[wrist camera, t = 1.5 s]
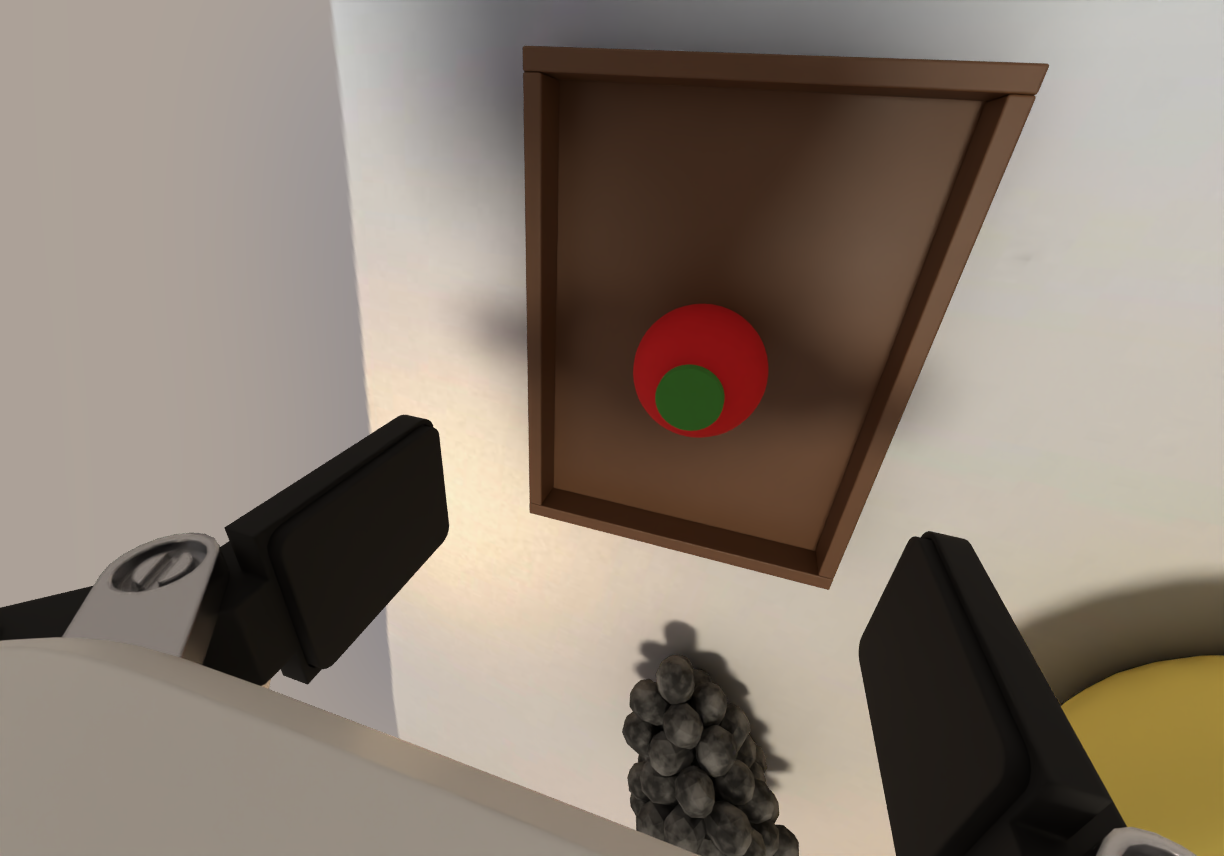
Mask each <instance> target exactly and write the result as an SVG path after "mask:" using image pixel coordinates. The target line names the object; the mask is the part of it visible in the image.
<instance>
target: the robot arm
mask: <svg viewBox="0 0 1224 856" xmlns="http://www.w3.org/2000/svg"><path fill="white" fill-rule="evenodd" d="M448 530H449V520H448V511H447V502H446V493H445V484H444V475H443V466H442V457H441V447H440V438H439V433H438V431H437V429H435V428H434V427H433V424H432V423H431V421H429V420H427V419H423V418H418V417H414V416H409V415H400V416H398V417H397V418H395V419H393V420H392V421H390V422H389V423H387V424H386V425H384V426H383V427H381V428H379V429H378V430H376V431H375V432H373V433H372V434H370V435H368V436H367V437H365V438H364V439H362V440H361V441H359V442H358V443H356V444H354V445H353V446H351V447H350V448H348V449H347V450H345V451H343V452H342V453H341V454H339V455H337V456H336V457H334V458H333V459H331V460H329V461H328V462H326V463H325V464H323V465H322V466H320V467H318V468H317V469H315V470H314V471H312V472H311V473H309V474H308V475H306V476H304V477H303V478H301V479H300V480H298V481H297V482H295V483H293V484H292V485H290V486H289V487H287V488H286V489H284V490H283V491H281V492H279V493H278V494H276V495H275V496H273V497H272V498H270V499H268V500H267V501H265V502H264V503H262V504H261V505H259V506H257V507H256V508H254V509H253V510H251V511H250V512H248V513H247V514H245V515H244V516H242V517H240V518H239V519H237V520H236V521H234V522H233V523H231V524H229V525H228V526H226V527H225V531H226V533H227V535H228V538H229V542H227V543H226V544H224V545H223V546H221V547H220V546H219V544H218V543H217V541H216V540H215V538H213V537H211V536H208V535H206V534H200V533H183V534H174V535H170V536H167V537H163V538H158V539H155V540H153V541H150V542H148V543H145V544H142V545H140V546H138V547H136V548H134V549H132V550H130V551H128V552H127V553H125V554H123V555H122V556H120V557H119V558H118V559H116V560H115V561H114V562H112V563H111V564H110V565H109V566H108V567H107V568H106V569H105V570H104V571H103V572H102V574H101V575H100V576H99V578H98V579H97V581H96V583H95V584H94V586H91V587H86V588H82V589H78V590H74V591H69V592H65V593H61V594H57V595H52V596H48V597H44V598H40V599H35V600H31V601H27V602H23V603H19V604H14V605H10V606H6V607H2V608H0V856H700V855H697V854H695V853H692V852H689V851H687V850H684V849H682V848H679V847H677V846H674V845H672V844H669V843H667V842H664V841H661V840H659V839H656V838H654V837H651V836H649V835H646V834H644V833H641V832H639V831H636V830H633V829H631V828H628V827H626V826H623V825H621V824H618V823H616V822H613V821H611V820H608V819H605V818H603V817H600V816H598V815H595V814H593V813H590V812H587V811H585V810H582V809H580V808H577V807H575V806H572V805H569V804H567V803H564V802H562V801H559V800H556V799H554V798H551V797H549V796H546V795H544V794H541V793H538V792H536V791H533V790H531V789H528V788H526V787H523V786H520V785H518V784H515V783H513V782H510V781H507V780H505V779H502V778H500V777H497V776H495V775H492V774H489V773H487V772H484V771H482V770H479V769H476V768H474V767H471V766H469V765H466V764H463V763H461V762H458V761H456V760H453V759H451V758H448V757H445V756H443V755H440V754H438V753H435V752H432V751H430V750H427V749H425V748H422V747H419V746H417V745H414V744H412V743H409V742H406V741H404V740H401V739H399V738H396V737H393V736H391V735H388V734H385V733H383V732H380V731H377V730H375V729H372V728H370V727H367V726H364V725H362V724H359V723H356V722H354V721H351V720H348V719H346V718H343V717H341V716H338V715H336V714H333V713H330V712H328V711H325V710H322V709H320V708H317V707H314V706H312V705H309V704H307V703H304V702H301V701H299V700H296V699H293V698H291V697H288V696H286V695H283V694H280V693H278V692H275V691H272V690H270V689H269V686H270V681H271V678H272V677H273V676H274V675H275V674H276V673H277V672H278V671H279V670H280V669H281V671H282V673H283V675H284V676H286V677H289V678H292V679H294V680H297V681H300V682H302V683H305V684H309V683H310V682H311V680H312V679H313V678H314V677H315V676H316V675H317V674H318V673H319V672H320V671H321V669H326V668H328V667H330V666H332V665H333V664H334V663H335V662H336V661H337V660H338V659H339V658H340V656H341V655H342V654H343V653H344V652H345V651H346V650H347V649H348V647H349V646H350V645H351V644H352V643H353V642H354V641H355V640H356V639H357V637H358V636H359V635H360V634H361V633H362V632H363V631H364V629H366V627H367V626H368V625H369V624H370V623H371V622H372V621H373V620H374V619H375V617H376V616H377V615H378V614H379V613H380V612H381V611H382V610H383V609H384V607H385V606H386V605H387V604H388V603H389V602H390V601H391V600H392V599H393V597H394V596H395V595H396V594H397V593H398V592H399V591H400V590H401V588H402V587H403V586H404V585H405V584H406V583H407V582H408V581H409V580H410V578H411V577H412V576H413V575H414V574H415V573H416V572H417V571H418V570H419V568H420V567H421V566H422V565H423V564H424V563H425V562H426V561H427V560H428V558H429V557H430V556H431V555H432V554H433V553H434V552H435V551H436V549H437V548H438V547H439V546H440V545H441V544H442V543H443V541H444V540H445V538H446V536H447V534H448ZM859 661H860V667H861V672H862V677H863V683H864V688H865V693H866V698H867V704H868V709H869V714H870V720H871V725H872V730H873V736H874V741H875V746H876V751H877V757H878V762H879V767H880V773H881V778H882V783H883V789H884V794H885V799H886V804H887V810H888V815H889V820H890V826H891V831H892V836H893V842H894V847H895V852H896V856H1197V855H1195V854H1194V853H1192V852H1191V851H1189V850H1188V849H1186V848H1185V847H1183V846H1182V845H1180V844H1178V843H1176V842H1174V841H1172V840H1169V839H1167V838H1165V837H1163V836H1161V835H1159V834H1157V833H1155V832H1151V831H1147V830H1143V829H1139V828H1135V827H1127V825H1126V824H1125V822H1124V820H1123V818H1122V816H1121V815H1120V813H1119V811H1118V809H1117V807H1116V806H1115V804H1114V802H1113V800H1112V798H1111V796H1110V795H1109V793H1108V791H1107V789H1106V787H1105V785H1104V784H1103V782H1102V780H1101V778H1100V776H1099V775H1098V773H1097V771H1096V769H1095V767H1094V766H1093V764H1092V762H1091V760H1090V758H1089V757H1088V755H1087V753H1086V751H1085V749H1084V748H1083V746H1082V744H1081V742H1080V740H1079V739H1078V737H1077V735H1076V733H1075V731H1074V730H1073V728H1072V726H1071V724H1070V722H1069V721H1068V719H1067V717H1066V715H1065V713H1064V712H1063V710H1062V708H1061V706H1060V704H1059V702H1058V701H1057V699H1056V697H1055V695H1054V693H1053V692H1052V690H1051V688H1050V686H1049V684H1048V683H1047V681H1046V679H1045V677H1044V675H1043V674H1042V672H1041V670H1040V668H1039V666H1038V665H1037V663H1036V661H1035V659H1034V657H1033V656H1032V654H1031V652H1030V650H1029V648H1028V647H1027V645H1026V643H1025V641H1024V639H1023V638H1022V636H1021V634H1020V632H1019V630H1018V629H1017V627H1016V625H1015V623H1014V621H1013V619H1012V618H1011V616H1010V614H1009V612H1008V610H1007V609H1006V607H1005V605H1004V603H1003V601H1002V600H1001V598H1000V596H999V594H998V592H997V591H996V589H995V587H994V585H993V583H992V582H991V580H990V578H989V576H988V574H987V573H986V571H985V569H984V567H983V565H982V564H981V562H980V560H979V558H978V556H977V555H976V553H975V551H974V549H973V547H972V546H971V544H970V543H969V542H968V541H967V540H965V539H962V538H958V537H953V536H949V535H944V534H940V533H935V532H931V531H928V532H925V533H924V534H923V535H922V536H921V538H919V537H912V538H911V539H910V540H909V541H908V543H907V545H906V547H905V549H904V551H903V553H902V555H901V557H900V559H899V561H898V563H897V566H896V568H895V570H894V572H893V574H892V576H891V578H890V580H889V582H888V584H887V586H886V588H885V590H884V592H883V594H882V596H881V598H880V600H879V602H878V604H877V606H876V609H875V611H874V613H873V615H872V617H871V619H870V621H869V623H868V625H867V627H866V629H865V631H864V633H863V635H862V637H861V640H860V644H859Z"/></svg>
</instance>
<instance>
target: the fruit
mask: <svg viewBox="0 0 1224 856" xmlns="http://www.w3.org/2000/svg"><path fill="white" fill-rule="evenodd" d="M656 678H657V683H656V682H654V681H652V680H651V679H646V680H640V681H639V682H638V683H637V684H636V685H635V686H634V688H633V689H632V691H631V693H630V708H631V709H632V711H633V712H632V713H631V714H629V715H628V716H627V717H626V719H625V722H624V727H623V731H622V733H623V735H624V738H625V740H626V742H627V744H628V745H629V746H630V747H631V748H633V749H634V750H635V751H636V752H637V753H638V754H639V756H638V763H635V764H634V765H633V766H632V768H631V769H630V771H629V774H628V777H627V778H628V785H629V791H630V792H631V797H630V804H631V808H632V809H633V811H634V813H635V815H636V831H639V832H641V833H644V834H646V835H649V836H651V837H654V838H656V839H659V840H661V841H664V842H667V843H669V844H672V845H674V846H677V847H679V848H682V849H684V850H687V851H689V852H692V853H695V854H697V855H700V856H799V842H798V840H797V839H796V837H795V835H794V834H793V833H792V832H791V831H789V830H788V829H787V828H786V827H785V826H784V825H775V824H774V823H775V822H776V820H777V818H778V816H779V805H778V801H777V799H776V797H775V795H774V794H773V793H772V791H771V790H770V789H769V788H768V786H767V784H766V783H765V781H766V779H765V776H764V773H765V771H766V769H767V764H766V759H765V754H764V752H763V750H762V749H761V748H760V747H759V746H758V745H757V744H755V743H754V742H753V740H752V738H751V737H750V735H748V734H749V732H750V724H749V720H748V718H747V717H746V715H745V714H744V712H743V710H742V709H741V708H739V707H737V706H735V705H733V704H727V696H726V695H725V694H724V692H723V691H722V689H721V688H720V687H719V685H716V684H713V683H712V680H711V678H710V675H708V674H707V673H706V672H704V671H703V670H701V669H693V666H692V664H691V662H690V661H689V659H688V658H686V657H685V656H680V655H671V656H669V657H668V658H666V659H665V660H663V661H662V662H661V664H660V666H659V668H658V671H657V673H656Z"/></svg>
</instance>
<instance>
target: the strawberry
mask: <svg viewBox="0 0 1224 856" xmlns="http://www.w3.org/2000/svg"><path fill="white" fill-rule="evenodd" d="M633 378H634V385H635V389H636V393H637V395H638V398H639V400H640V402H641V404H642V406H643V407H644V409H645V410H646V412H647V413H648V414H649V415H650V416H651V417H652V418H653V419H654V420H655V421H656V422H657V423H658V424H659V425H661V426H662V427H664V428H665V429H667V430H669V431H671V432H674V433H676V434H679V435H683V436H687V437H697V438H702V437H711V436H716V435H720V434H723V433H726V432H728V431H730V430H732V429H734V428H735V427H737V426H738V425H740V424H741V423H742V422H743V421H745V420H746V419H747V418H748V417H749V416H750V415H751V414H752V413H753V412H754V410H755V409H756V407H757V406H758V404H759V403H760V401H761V399H762V397H763V395H764V392H765V389H766V385H767V379H768V359H767V354H766V350H765V347H764V344H763V342H762V340H761V338H760V336H759V335H758V333H757V332H756V330H755V329H754V328H753V327H752V325H751V324H750V323H749V322H748V321H746V320H745V319H744V318H743V317H742V316H740V315H739V314H737V313H736V312H734V311H732V310H730V309H727V308H725V307H722V306H718V305H713V304H692V305H687V306H683V307H680V308H677V309H675V310H672V311H670V312H668V313H667V314H665V315H664V316H662V317H661V318H660V319H658V320H657V321H656V322H655V323H654V324H653V325H652V326H651V327H650V328H649V329H648V330H647V332H646V333H645V335H644V336H643V338H642V340H641V342H640V344H639V346H638V348H637V351H636V355H635V360H634V366H633Z"/></svg>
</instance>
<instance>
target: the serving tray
mask: <svg viewBox="0 0 1224 856" xmlns="http://www.w3.org/2000/svg"><path fill="white" fill-rule="evenodd" d="M1048 68H1049V65H1048V64H1044V63H1015V62H986V61H957V60H928V59H898V58H869V57H840V56H811V55H782V54H752V53H723V52H694V51H665V50H636V49H606V48H577V47H548V46H523V70H524V71H525V72H524V73H523V95H524V160H525V226H526V291H527V357H528V422H529V487H530V513H533V514H537V515H540V516H544V517H548V518H552V519H556V520H560V521H564V522H568V523H572V524H575V525H579V526H583V527H587V528H591V529H595V530H599V531H603V532H606V533H610V534H614V535H618V536H622V537H626V538H630V539H634V540H637V541H641V542H645V543H649V544H653V545H657V546H661V547H665V548H668V549H672V550H676V551H680V552H684V553H688V554H692V555H696V556H699V557H703V558H707V559H711V560H715V561H719V562H723V563H727V564H730V565H734V566H738V567H742V568H746V569H750V570H754V571H758V572H762V573H765V574H769V575H773V576H777V577H781V578H785V579H789V580H793V581H796V582H800V583H804V584H808V585H812V586H816V587H820V588H824V589H827V590H829V588H830V586H831V584H832V581H833V578H834V576H835V574H836V571H837V569H838V567H839V564H840V562H841V559H842V557H843V555H844V552H845V550H846V548H847V545H848V543H849V540H850V538H851V536H852V533H853V531H854V529H855V526H856V524H857V521H858V519H859V517H860V514H861V512H862V510H863V507H864V505H865V502H866V500H867V498H868V495H869V493H870V491H871V488H872V486H873V483H874V481H875V479H876V476H877V474H878V471H879V469H880V467H881V464H882V462H883V460H884V457H885V455H886V452H887V450H888V448H889V445H890V443H891V441H892V438H893V436H894V433H895V431H896V429H897V426H898V424H899V422H900V419H901V417H902V414H903V412H904V410H905V407H906V405H907V403H908V400H909V398H910V395H911V393H912V391H913V388H914V386H915V384H916V381H917V379H918V376H919V374H920V372H921V369H922V367H923V365H924V362H925V360H926V357H927V355H928V353H929V350H930V348H931V345H932V343H933V341H934V338H935V336H936V334H937V331H938V329H939V326H940V324H941V322H942V319H943V317H944V315H945V312H946V310H947V307H948V305H949V303H950V300H951V298H952V296H953V293H954V291H955V288H956V286H957V284H958V281H959V279H960V277H961V274H962V272H963V269H964V267H965V265H966V262H967V260H968V258H969V255H970V253H971V250H972V248H973V246H974V243H975V241H976V239H977V236H978V234H979V231H980V229H981V227H982V224H983V222H984V219H985V217H986V215H987V212H988V210H989V208H990V205H991V203H992V200H993V198H994V196H995V193H996V191H997V189H998V186H999V184H1000V181H1001V179H1002V177H1003V174H1004V172H1005V170H1006V167H1007V165H1008V162H1009V160H1010V158H1011V155H1012V153H1013V151H1014V148H1015V146H1016V143H1017V141H1018V139H1019V136H1020V134H1021V132H1022V129H1023V127H1024V124H1025V122H1026V120H1027V117H1028V115H1029V113H1030V110H1031V108H1032V105H1033V103H1034V101H1035V96H1034V95H1036V94H1037V93H1038V91H1039V89H1040V87H1041V84H1042V82H1043V79H1044V77H1045V75H1046V72H1047V70H1048ZM692 304H713V305H718V306H722V307H725V308H727V309H730V310H732V311H734V312H736V313H737V314H739V315H740V316H742V317H743V318H744V319H745V320H746V321H748V322H749V323H750V324H751V325H752V327H753V328H754V329H755V330H756V332H757V333H758V335H759V336H760V338H761V340H762V342H763V344H764V347H765V350H766V354H767V359H768V379H767V385H766V389H765V392H764V395H763V397H762V399H761V401H760V403H759V404H758V406H757V407H756V409H755V410H754V412H753V413H752V414H751V415H750V416H749V417H748V418H747V419H746V420H745V421H743V422H742V423H741V424H740V425H738V426H737V427H735V428H734V429H732V430H730V431H728V432H726V433H723V434H720V435H716V436H711V437H702V438H697V437H687V436H683V435H679V434H676V433H674V432H671V431H669V430H667V429H665V428H664V427H662V426H661V425H659V424H658V423H657V422H656V421H655V420H654V419H653V418H652V417H651V416H650V415H649V414H648V413H647V412H646V410H645V409H644V407H643V406H642V404H641V402H640V400H639V398H638V395H637V393H636V389H635V385H634V378H633V366H634V360H635V355H636V351H637V348H638V346H639V344H640V342H641V340H642V338H643V336H644V335H645V333H646V332H647V330H648V329H649V328H650V327H651V326H652V325H653V324H654V323H655V322H656V321H657V320H658V319H660V318H661V317H662V316H664V315H665V314H667V313H668V312H670V311H672V310H675V309H677V308H680V307H683V306H687V305H692Z"/></svg>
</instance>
